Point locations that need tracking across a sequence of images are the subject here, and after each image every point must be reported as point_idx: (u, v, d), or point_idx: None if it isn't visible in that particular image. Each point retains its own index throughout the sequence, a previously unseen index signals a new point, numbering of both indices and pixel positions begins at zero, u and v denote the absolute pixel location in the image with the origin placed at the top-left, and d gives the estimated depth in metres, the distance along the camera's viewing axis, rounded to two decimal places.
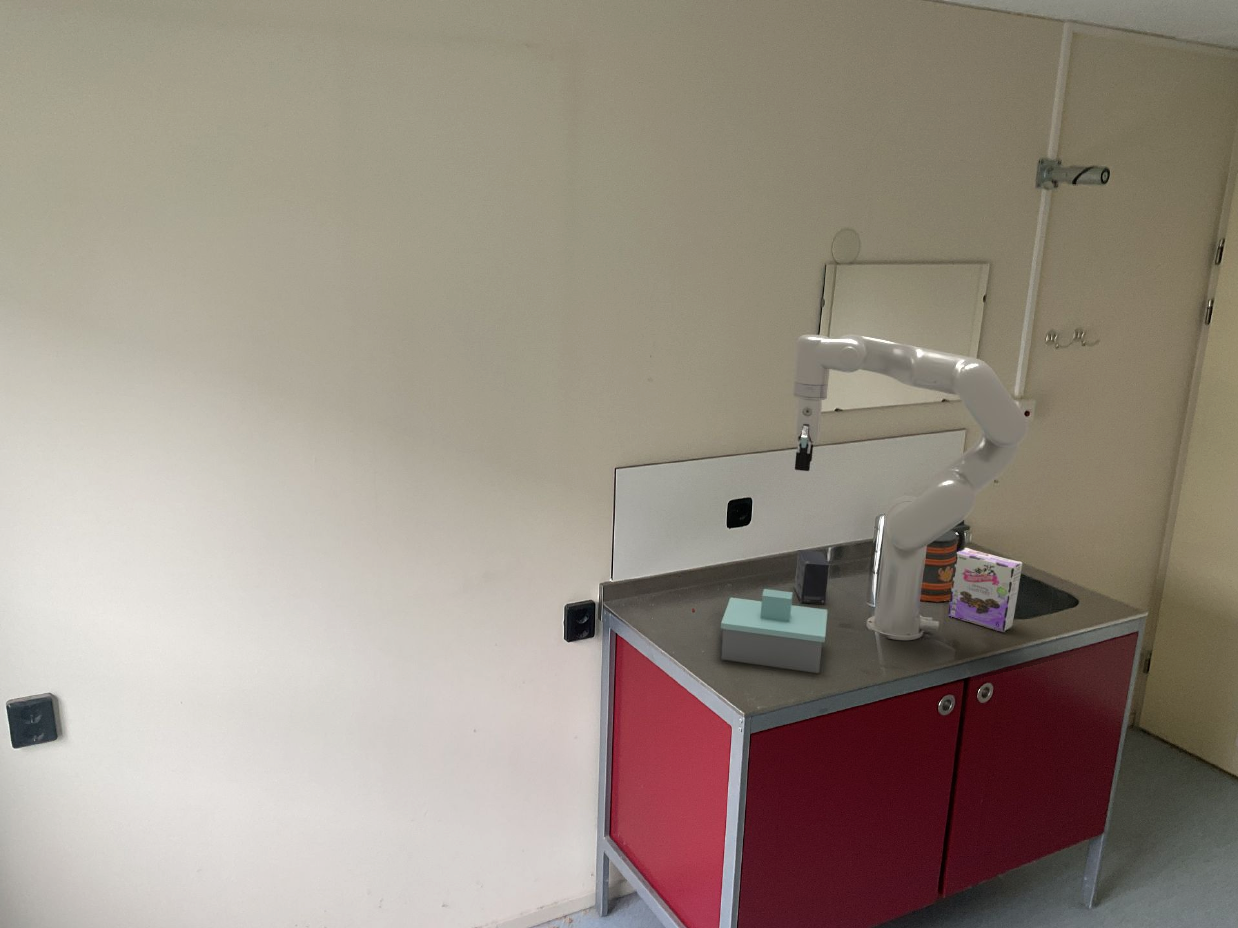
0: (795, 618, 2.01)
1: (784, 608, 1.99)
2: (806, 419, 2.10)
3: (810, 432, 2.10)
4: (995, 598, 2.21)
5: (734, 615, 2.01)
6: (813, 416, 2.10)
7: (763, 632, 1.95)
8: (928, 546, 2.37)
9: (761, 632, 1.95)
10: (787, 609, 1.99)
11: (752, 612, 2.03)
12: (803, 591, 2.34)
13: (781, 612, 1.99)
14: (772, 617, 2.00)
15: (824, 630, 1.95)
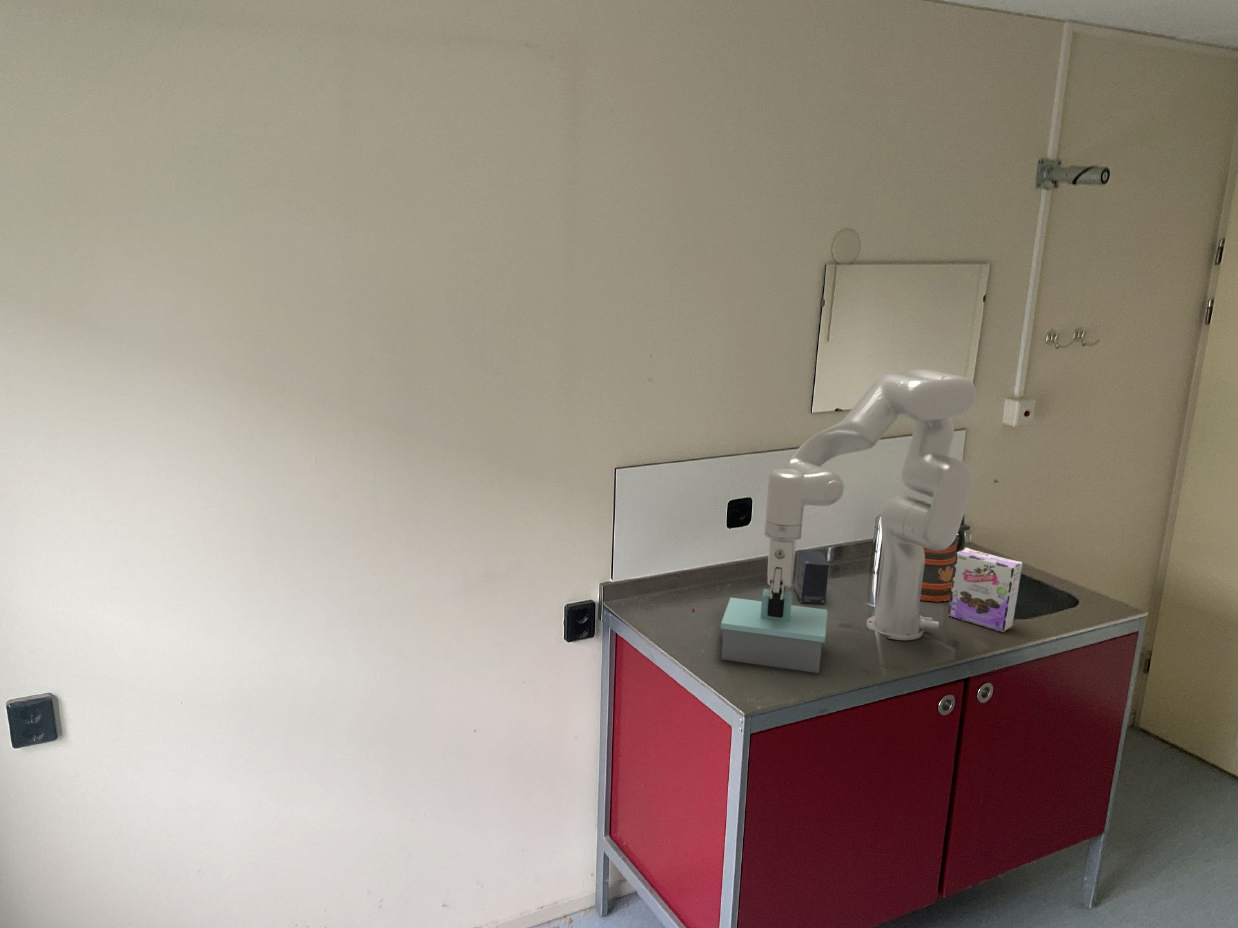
0: (795, 618, 2.01)
1: (784, 608, 1.99)
2: (779, 562, 1.94)
3: (783, 576, 1.94)
4: (995, 598, 2.21)
5: (734, 615, 2.01)
6: (786, 559, 1.93)
7: (763, 632, 1.95)
8: None
9: (761, 632, 1.95)
10: (787, 609, 1.99)
11: (752, 612, 2.03)
12: (803, 591, 2.34)
13: None
14: (772, 617, 2.00)
15: (824, 630, 1.95)
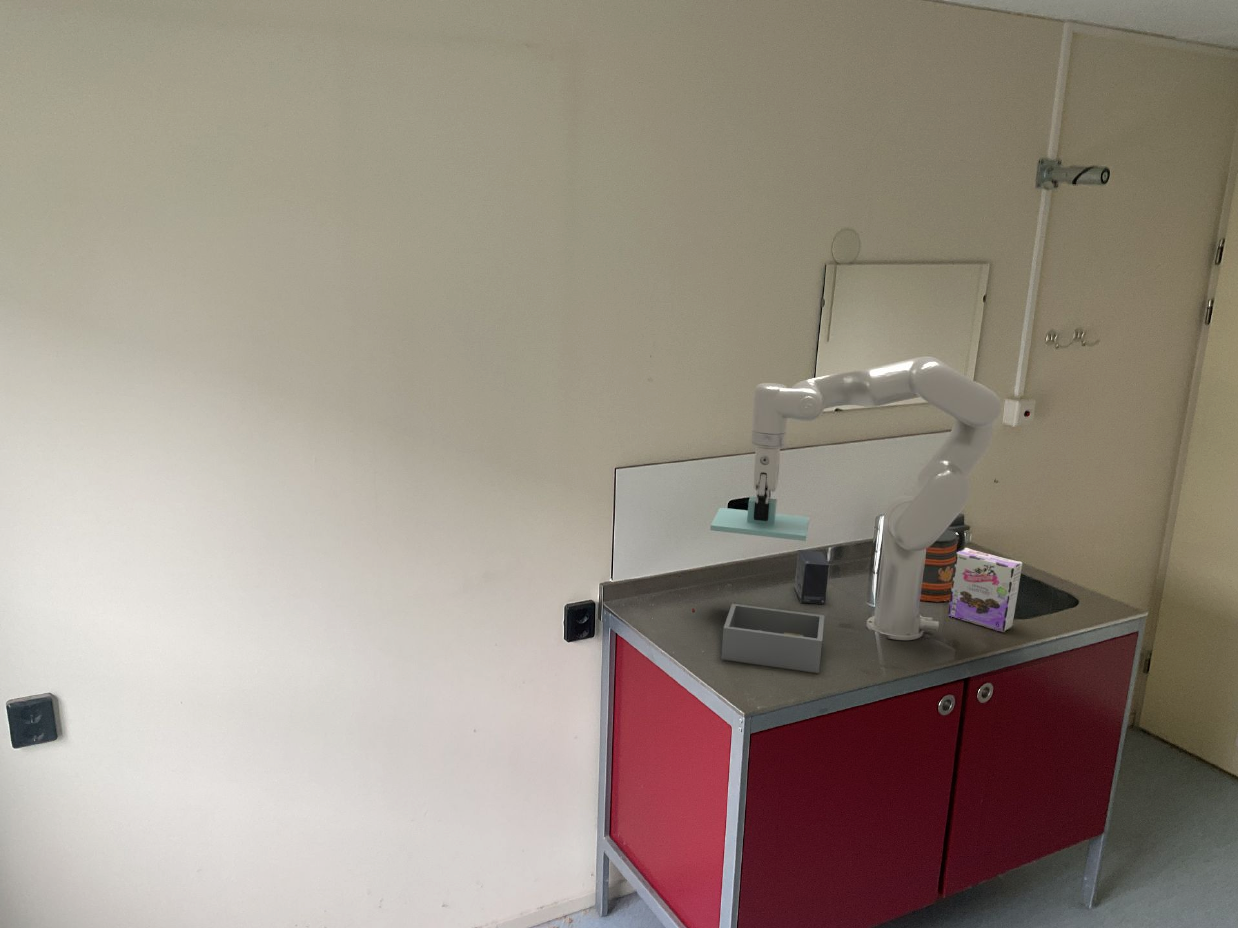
0: (779, 522, 2.18)
1: None
2: (764, 468, 2.11)
3: (767, 480, 2.11)
4: (995, 598, 2.21)
5: (723, 520, 2.18)
6: (770, 465, 2.10)
7: (749, 533, 2.12)
8: None
9: (747, 533, 2.12)
10: (772, 513, 2.16)
11: (740, 518, 2.20)
12: (803, 591, 2.34)
13: None
14: (758, 521, 2.17)
15: (805, 531, 2.12)
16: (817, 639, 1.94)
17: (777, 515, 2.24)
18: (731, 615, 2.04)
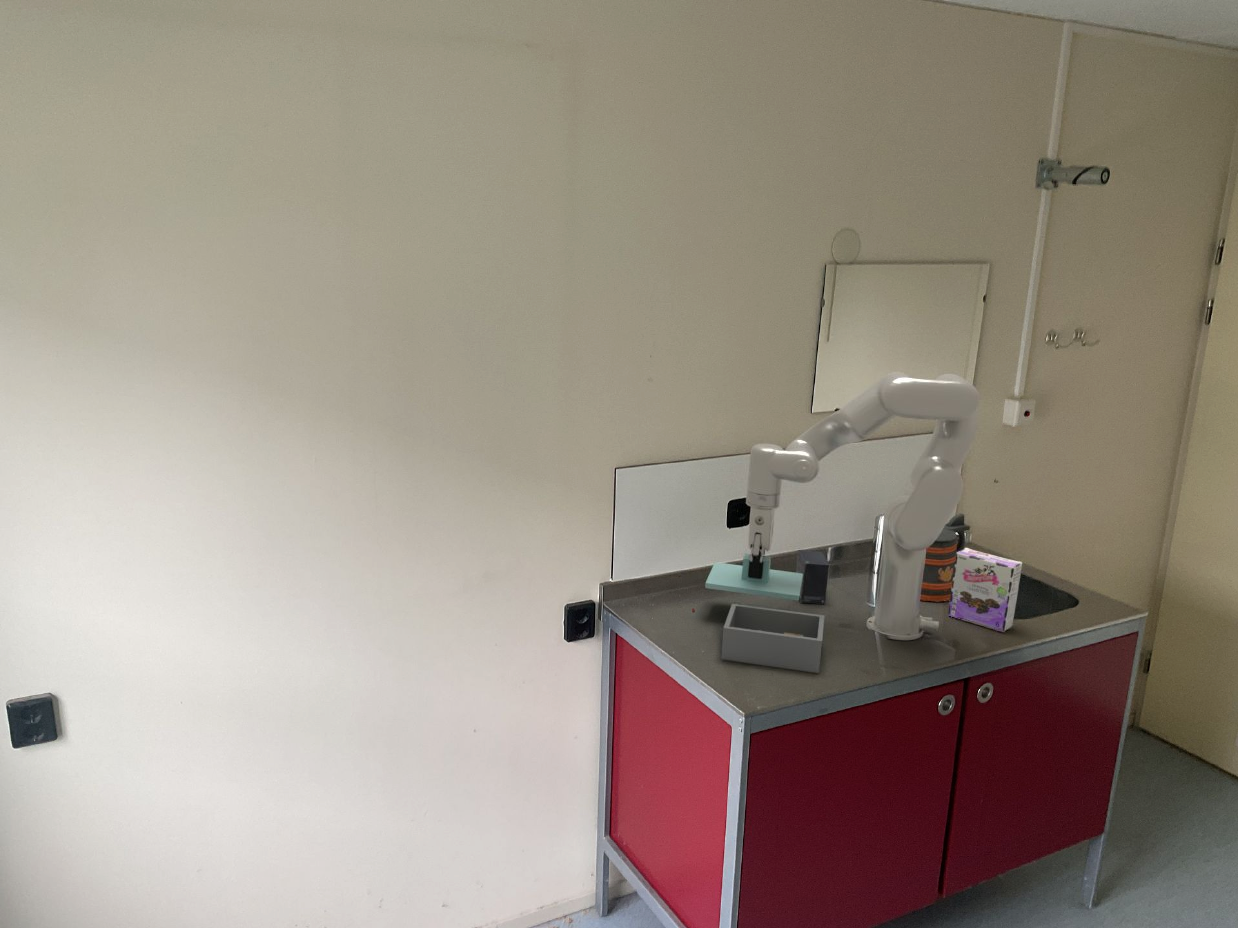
0: (773, 579, 2.21)
1: None
2: (758, 528, 2.14)
3: (762, 540, 2.14)
4: (995, 598, 2.21)
5: (717, 577, 2.21)
6: (765, 525, 2.14)
7: (743, 591, 2.15)
8: None
9: (741, 591, 2.15)
10: (766, 571, 2.19)
11: (734, 575, 2.23)
12: (803, 591, 2.34)
13: None
14: (752, 578, 2.20)
15: (798, 590, 2.16)
16: (817, 639, 1.94)
17: (771, 571, 2.27)
18: (731, 615, 2.04)
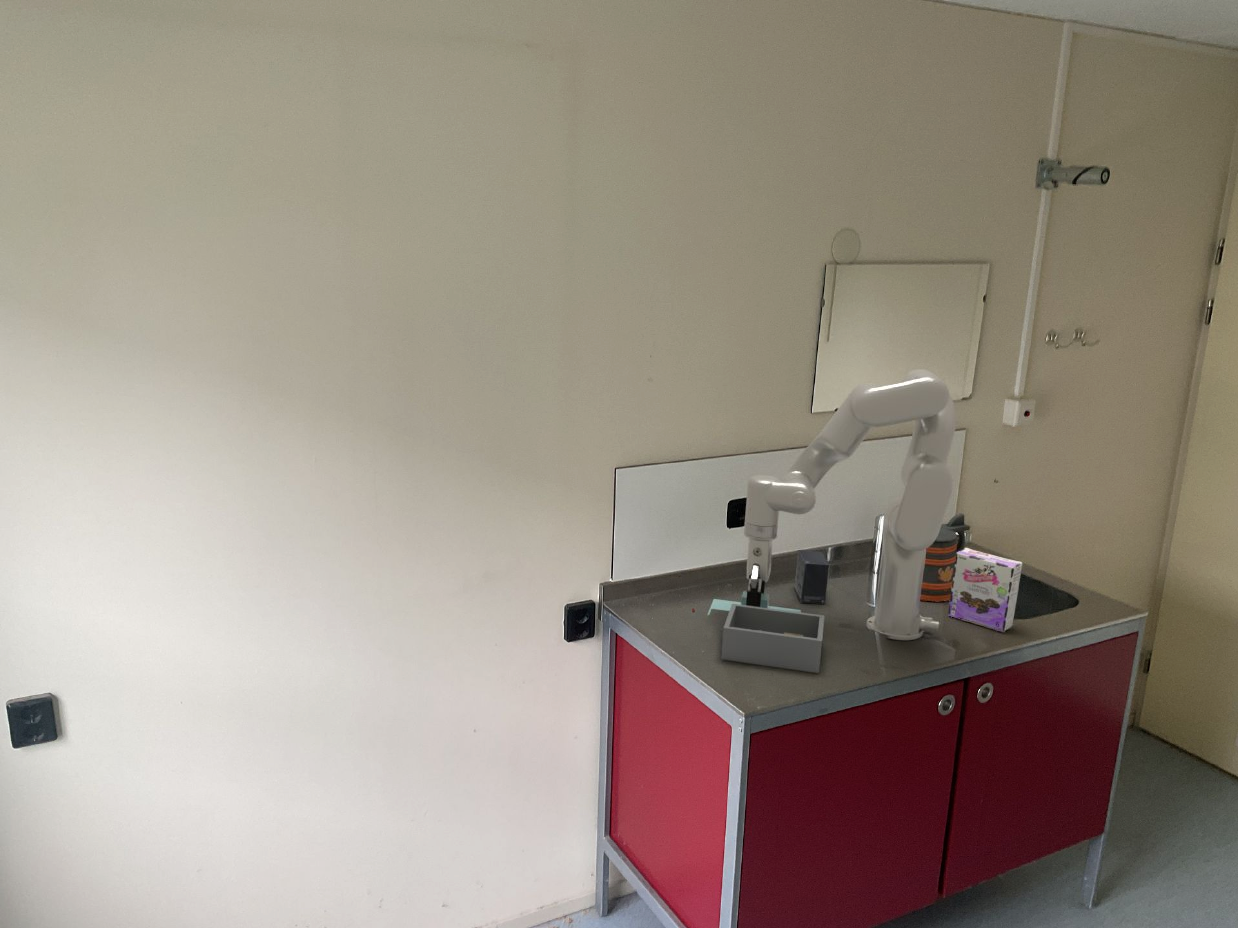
0: None
1: None
2: (756, 559, 2.16)
3: (760, 571, 2.16)
4: (995, 598, 2.21)
5: None
6: (763, 556, 2.15)
7: None
8: None
9: None
10: None
11: None
12: (803, 591, 2.34)
13: None
14: None
15: None
16: (817, 639, 1.94)
17: None
18: (731, 615, 2.04)
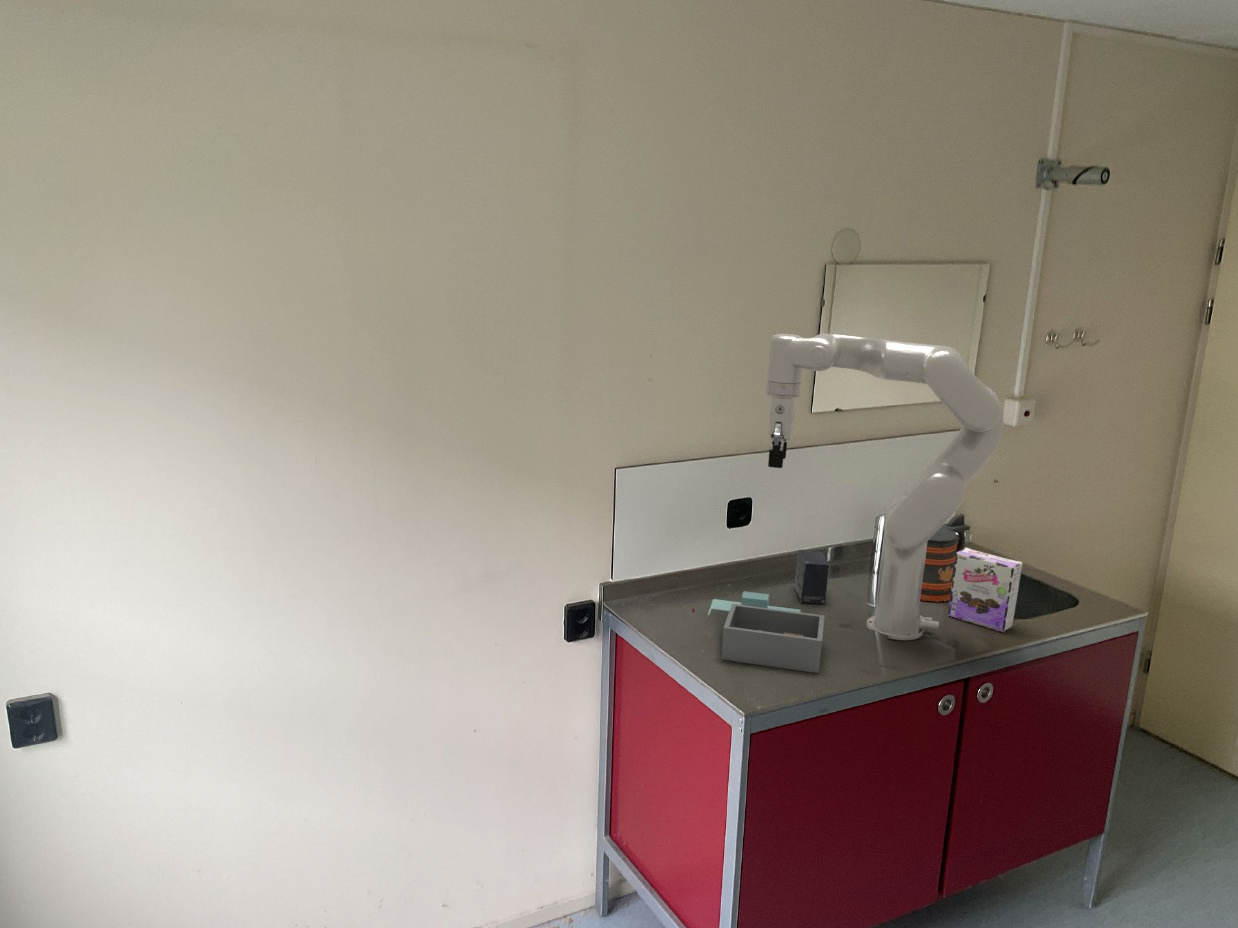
0: None
1: None
2: (779, 417, 2.13)
3: (783, 430, 2.14)
4: (995, 598, 2.21)
5: None
6: (786, 414, 2.13)
7: None
8: (928, 546, 2.37)
9: None
10: None
11: None
12: (803, 591, 2.34)
13: None
14: None
15: None
16: (817, 639, 1.94)
17: None
18: (731, 615, 2.04)
